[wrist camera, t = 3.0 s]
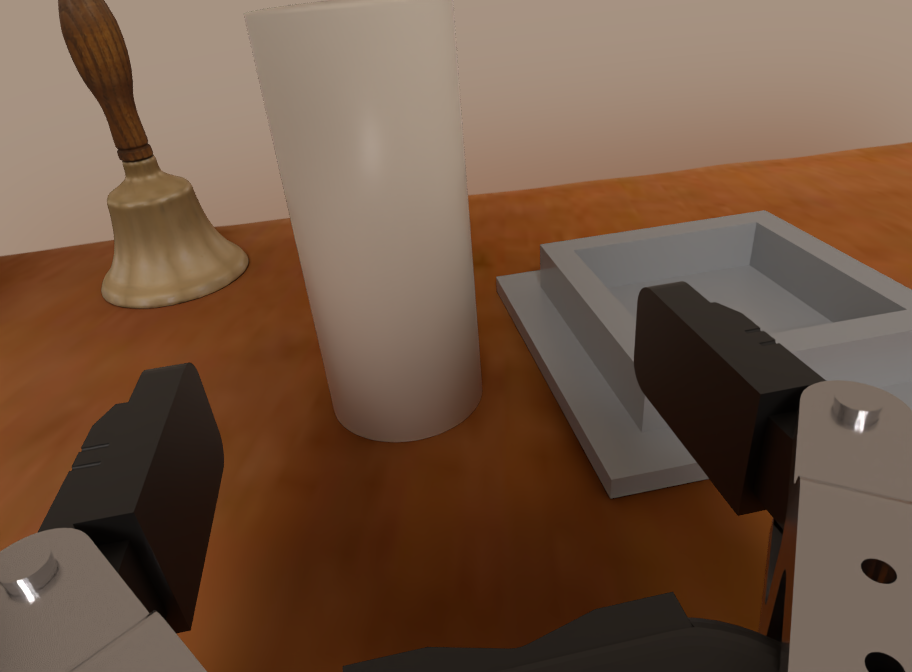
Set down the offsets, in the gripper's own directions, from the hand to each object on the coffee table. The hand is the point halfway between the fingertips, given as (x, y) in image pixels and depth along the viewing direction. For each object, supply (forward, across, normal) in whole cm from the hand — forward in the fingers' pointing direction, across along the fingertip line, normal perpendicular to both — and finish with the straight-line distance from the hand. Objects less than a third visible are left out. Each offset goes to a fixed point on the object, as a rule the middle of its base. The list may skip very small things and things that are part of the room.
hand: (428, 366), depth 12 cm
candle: (+11, 0, +8) cm, 14 cm away
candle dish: (+11, -13, +8) cm, 19 cm away
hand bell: (+27, +12, +8) cm, 31 cm away
